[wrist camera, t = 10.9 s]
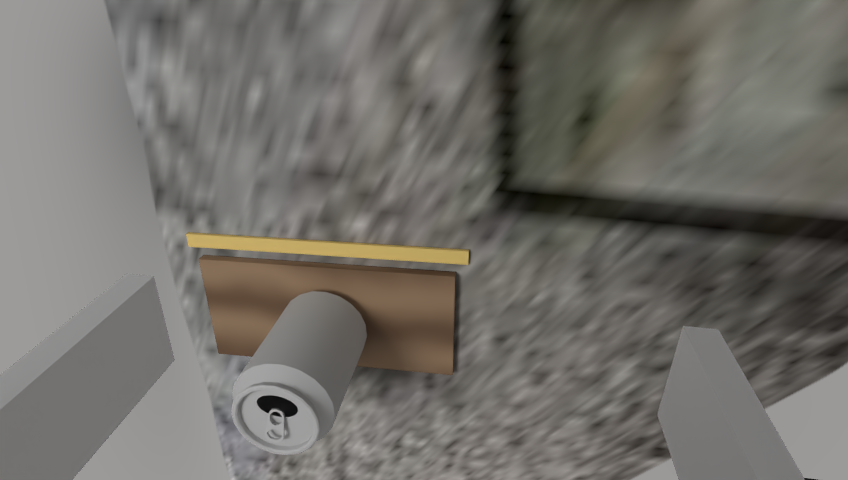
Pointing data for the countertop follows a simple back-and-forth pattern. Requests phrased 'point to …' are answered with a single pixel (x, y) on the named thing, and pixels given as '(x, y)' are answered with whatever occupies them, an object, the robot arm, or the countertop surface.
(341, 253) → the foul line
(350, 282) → the board
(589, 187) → the countertop surface
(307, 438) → the can
